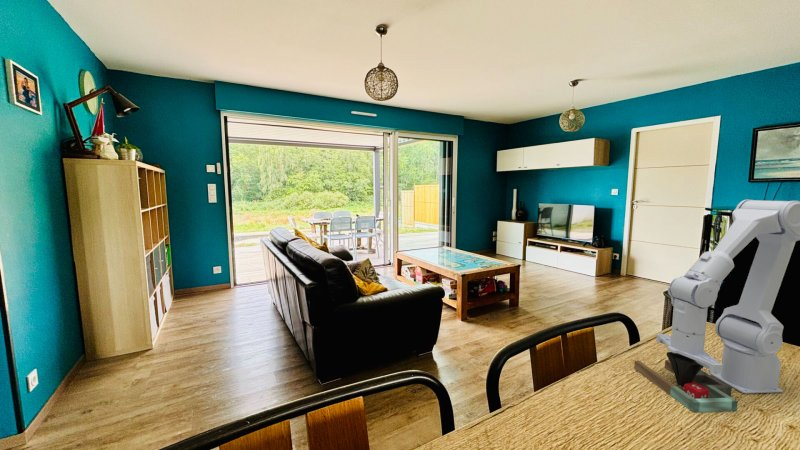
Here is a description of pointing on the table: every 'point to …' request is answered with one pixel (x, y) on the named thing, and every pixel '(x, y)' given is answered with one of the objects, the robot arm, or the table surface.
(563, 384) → the table surface
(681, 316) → the robot arm
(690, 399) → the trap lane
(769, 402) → the table surface
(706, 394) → the red letter block
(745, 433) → the table surface
